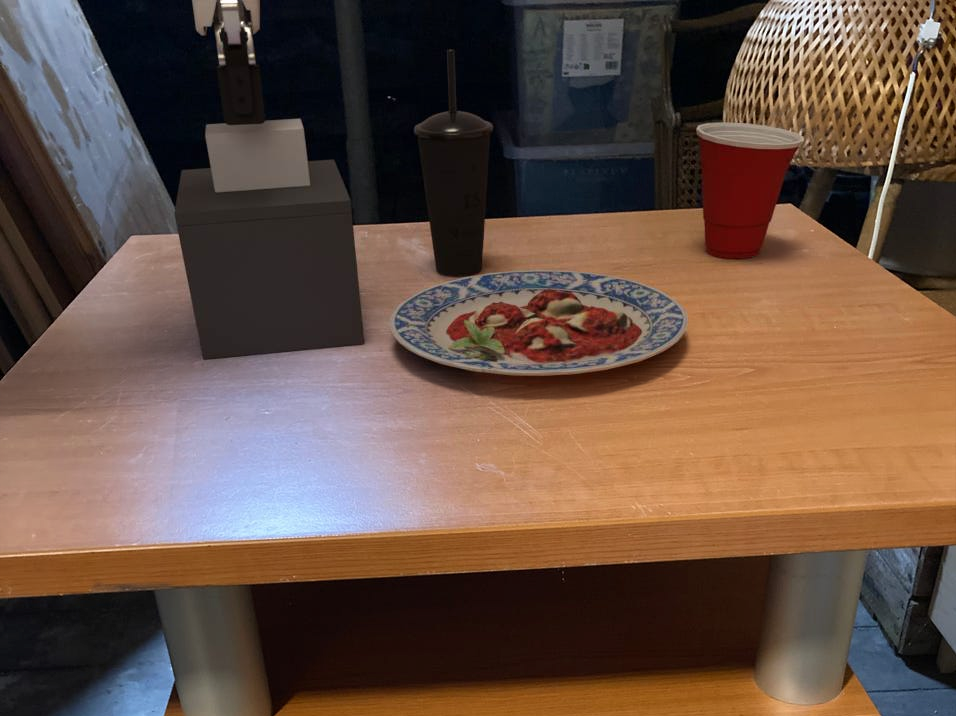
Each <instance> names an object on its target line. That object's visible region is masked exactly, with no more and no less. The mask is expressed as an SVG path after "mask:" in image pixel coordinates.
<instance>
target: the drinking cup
mask: <svg viewBox="0 0 956 716" xmlns="http://www.w3.org/2000/svg"><path fill="white" fill-rule="evenodd" d="M446 57H447V58H446V59H447V60H446V61H447V62H446V63H447V83H448V109H449V110H448V111H443V112H439V113H436V114H433V115H431V116H429V117H428V118H426V119H425V120H423V121H422V122H420V123H418V124H416V125H414V128H413V133H414V135H415V136H417V141H418V149H419V157H420V165H421V171H422V178H423V185H424V192H425V199H426V207H427V213H428V222H429V228H430V235H431V236H430V237H431V242H432V250H433V251H432V252H433V257H434V265H435V271H436V272H437V273H438V274H440V275H441V276H442V275H443V276H446V277H470V276H474V275H477V274H478V273H480V272H482V270H483V255H484V241H485V226H486V210H487V209H486V208H487V207H486V206H487V190H488V174H489V160H490V159H489V158H490V144H491V143H490V141H491V134H492V133H493V131H494V126H493V123H492V122H489V121H487V120H485V119H483V118H481V117H480V116H478V115H476V114H473V113H471V112H467V111H461V110H457V92H456V91H457V89H456V61H455V49H447V50H446Z"/></svg>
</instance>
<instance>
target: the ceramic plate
mask: <svg viewBox="0 0 956 716" xmlns="http://www.w3.org/2000/svg"><path fill="white" fill-rule="evenodd" d="M688 326H689V315H688V313H687V311H686V309H685V308H684V307H683V305H682V304H681V303H680V301H678V300H676V299H675V298H673V297H672V296H670V295H669V294H668V293H665V292H663V291H662V290H660V289H658V288H656V287H652V286H651V285H648V284H645V283H642V282H638V281H636V280H630V279H627V278H623V277H619V276H614V275H608V274H606V275H605V274H601V273H594V272H589V271H576V270H560V269H559V270H558V269H557V270H556V269H534V270H533V269H531V270H530V269H529V270H528V269H527V270H526V269H525V270H509V271H500V272H489V273H484V274H483V273H482V274H476V275H470V276H464V277H459V278H457V279H453V280H449V281H447V282H446V281H445V282H442V283H439V284H436V285H432V286H430V287H428V288H427V287H426V288H425V289H422V290H420V291H418V292H416V293H414V294H413V295H411V296H409V297H407V298H406V299H405V300H403V301H402V302H400V303H399V304H398V305H397V307H396V308H395V309H394V310H393V311H392V313H391V316H390V317H389V328H390V332H391V334H392V336H393V337H394V339H395V341H396V342H398V343H399V344H400V345H401V346H403V348H405V349H407V350H408V351H410V352H412V353H414V354H416V355H417V356H419V357H421V358H424V359H427V360H430V361H433V362H435V363H438V364H440V365H445V366H448V367H453V368H457V369H461V370H466V371H470V372H475V373H487V374H496V375H506V376H523V377H525V376H529V377H530V376H531V377H533V376H534V377H547V376H549V377H550V376H563V375H565V376H566V375H579V374H586V373H593V372H600V371H601V372H602V371H606V370H611V369H615V368H619V367H624V366H627V365H632V364H635V363H640V362H642V361H645V360H648V359H649V358H652V357H654V356H656V355H658V354H661V353H663V352H666V351H667V350H668V349H670V348H671V347H672V346H674V345H675V344H677V343H678V342H679V341H680V340H681V339H682V338H683V336H684V335H685V333H686V332H687V329H688Z"/></svg>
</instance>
